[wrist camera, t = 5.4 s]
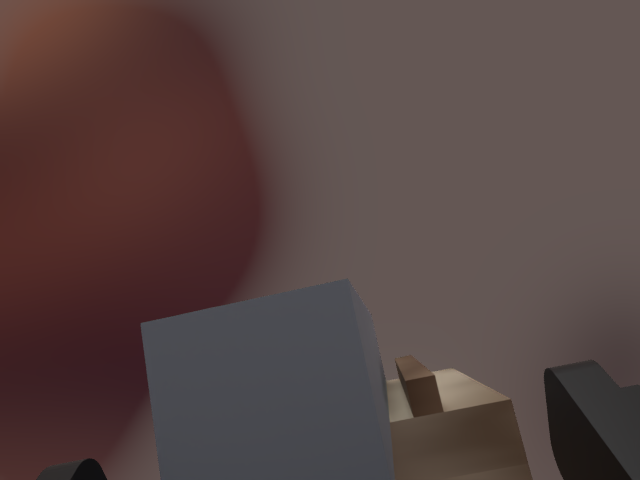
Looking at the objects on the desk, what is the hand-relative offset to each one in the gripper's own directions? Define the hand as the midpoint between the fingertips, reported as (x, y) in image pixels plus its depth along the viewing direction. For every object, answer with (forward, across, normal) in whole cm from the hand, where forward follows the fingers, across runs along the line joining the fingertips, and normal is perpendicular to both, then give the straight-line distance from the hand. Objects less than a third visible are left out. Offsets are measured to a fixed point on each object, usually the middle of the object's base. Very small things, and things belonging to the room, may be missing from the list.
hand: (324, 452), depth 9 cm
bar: (+8, -1, -6) cm, 11 cm away
